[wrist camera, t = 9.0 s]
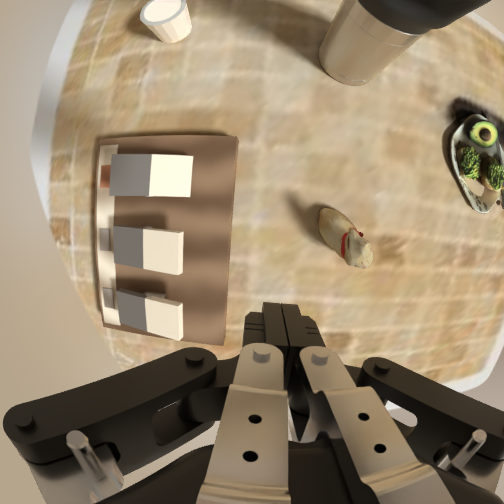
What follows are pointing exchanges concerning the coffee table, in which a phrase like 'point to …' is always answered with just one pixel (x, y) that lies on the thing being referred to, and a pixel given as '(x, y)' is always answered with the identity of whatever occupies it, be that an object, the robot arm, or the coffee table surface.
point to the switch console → (177, 219)
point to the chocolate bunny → (344, 238)
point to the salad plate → (478, 160)
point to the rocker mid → (149, 248)
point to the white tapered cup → (167, 19)
